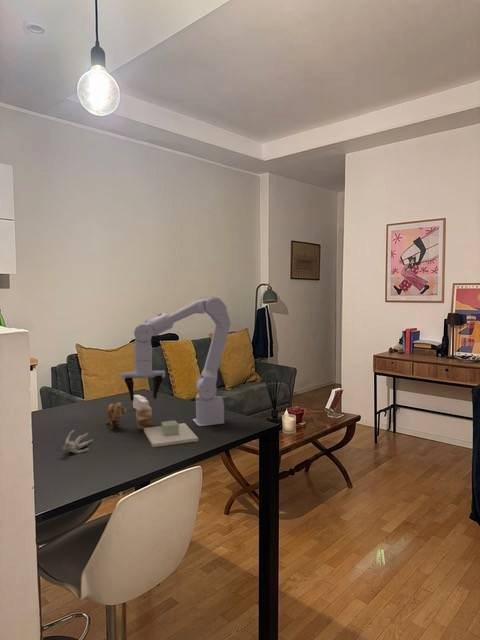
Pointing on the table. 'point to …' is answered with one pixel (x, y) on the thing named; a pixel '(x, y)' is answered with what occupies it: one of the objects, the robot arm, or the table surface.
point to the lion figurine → (115, 413)
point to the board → (170, 439)
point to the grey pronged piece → (75, 444)
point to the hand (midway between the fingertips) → (143, 398)
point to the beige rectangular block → (140, 401)
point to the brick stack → (143, 417)
